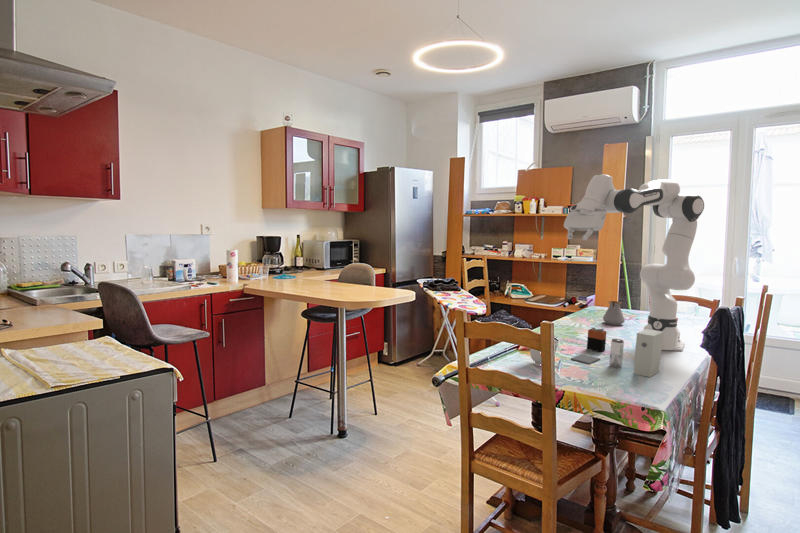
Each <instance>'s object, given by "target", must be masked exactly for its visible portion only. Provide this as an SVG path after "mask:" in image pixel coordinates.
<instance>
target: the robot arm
mask: <svg viewBox="0 0 800 533" xmlns="http://www.w3.org/2000/svg"><path fill="white" fill-rule="evenodd" d="M643 206H647V207H648V206H650V207H651V206H652V211H653V213H654V215H655V216H657V217H659V218H665V219H672V220H671V221H672V223H671V225H670V227H669V229H668V232H667V234H666V237H665V240H664V242H663V245H662V248H661V249H662V253H663V254H664V255H665V257H666V264H662V263H648V264H645V265H644V266H642V267H641V269H640V272H639V277H640V280H641V281H642V283H644V285H645V287H646V289H647V291H648V295H649V314H648V316H647V324H646V325H644V326H643V330H645V329H649V330H654V331H660V332H663V337H662V347H661V351H677V352H678V351H679V352H682V351H683V350H684V347H685V345H686V344H685V342H684V341H681V338H680V337H681V332H680V330H679V329H678V327H677V326H678V319H679V318H678V317H677V311H678V302H677V299H675V297H674V296H673V295H672V293H671V291H670V290H672V291H673V290H674V291H687V290H689V289H691V288H692V287H693V286H694V284H695V280H696V277H695V273H694V272H693V270H692V269H691V268H690V264H689V256H690V252H691V249H692V245H693V243H694V241H695V237H696V233H697V228H698V219H699V217H700V216H701V215H702V214H703V212H704V209H705V202H704V199H703V197H701V196H700V195H697V194H693V193H691V194H690V193H689V194H688V193H687V194H686V193H685V194H684V193H681V187H680V185H679V183H678V182H677V181H676V180H674V179H673V180H672V179H665V178H664V179H657V180H656V179H655V180H650V181H647V182H645V183H643V184H641V185H640V186H639V188H638V189H634V188H632V187H631V188H630V187H629V188H625V189H616V188H615V186H614V183H613V176H612V175H608V174H604V173H600V174H594V176H592V178H591V179H590V181H589V183H588V185H587V187H586V189H585V194H584V196H583V197H582V198H581V201H579V202H578V203H576V204H574V205H572V206H570V207H569V212H568V214H567V216H566V217H565V219H564V222H563V228H564V229H566V230H567V236H566V239H568V240H572V239H573V238H574V235H573V233H574V232H575V231H584V232H585V231H586V232H585V234H582V237H581V239H582V240H583V241H588V240H589V237H590V236H592V234H593V233H594V232H600V231H602V229H603V227H604V224H605V222H606V217H607V214H614V213H615V214H616V213H617V214H620V213H622V214H633V213H635V212H637V210H639V209H640V208H641V207H643Z"/></svg>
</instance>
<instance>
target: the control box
mask: <svg viewBox="0 0 800 533" xmlns="http://www.w3.org/2000/svg"><path fill="white" fill-rule="evenodd" d="M662 337H663V332H660V331H654V330H649V329H645V330H644V329H643V330H640V331H638V332H636V338H635V340H636V342H635V352H634V353H635V354H634V365H633V374H635V375H639V376H644V377H646V376H647V377H648V378H652V377H653V376H655V375H657V374H658V373H660V369H661V358H662V356H661V355H662V350H661V347H662Z"/></svg>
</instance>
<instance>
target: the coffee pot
mask: <svg viewBox="0 0 800 533" xmlns="http://www.w3.org/2000/svg"><path fill="white" fill-rule="evenodd" d="M607 302H608V303H609V306H608V308H607V309H606V311H605V314H604V315H603V317H602V319H603V321H604V323H605V324H607V325H610V326H621V325H622V324H624V323H625V321H626V320H625V317H624V314H623V311H622V309H621V304H622V301H614V300H608V301H607Z"/></svg>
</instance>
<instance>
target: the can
mask: <svg viewBox="0 0 800 533" xmlns="http://www.w3.org/2000/svg"><path fill="white" fill-rule="evenodd" d="M624 346H625V341H624V339H621V338H612V339H611V341H610V352H609V353H610V354H609V367H610V368H612V367H613V369H622V368H623V357H624Z"/></svg>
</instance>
